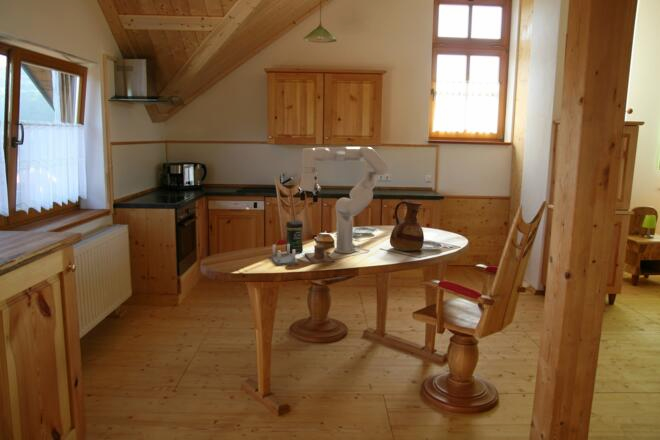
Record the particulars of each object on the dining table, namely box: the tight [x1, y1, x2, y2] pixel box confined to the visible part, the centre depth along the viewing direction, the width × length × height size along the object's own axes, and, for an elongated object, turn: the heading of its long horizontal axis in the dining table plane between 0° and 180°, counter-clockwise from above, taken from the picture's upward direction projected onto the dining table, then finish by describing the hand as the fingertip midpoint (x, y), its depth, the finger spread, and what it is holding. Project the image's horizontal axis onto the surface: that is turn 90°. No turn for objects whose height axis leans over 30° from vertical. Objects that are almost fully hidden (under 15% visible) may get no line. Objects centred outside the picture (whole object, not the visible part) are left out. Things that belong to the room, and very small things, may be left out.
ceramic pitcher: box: [389, 199, 425, 252], centre depth 309 cm, size 20×20×30 cm
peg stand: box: [269, 244, 300, 267], centre depth 283 cm, size 12×20×8 cm, turn 17°
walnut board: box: [304, 244, 336, 264], centre depth 289 cm, size 12×20×8 cm, turn 16°
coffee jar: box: [285, 220, 304, 254], centre depth 302 cm, size 10×8×19 cm
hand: (308, 201), depth 291 cm, fingers open, 9 cm apart
